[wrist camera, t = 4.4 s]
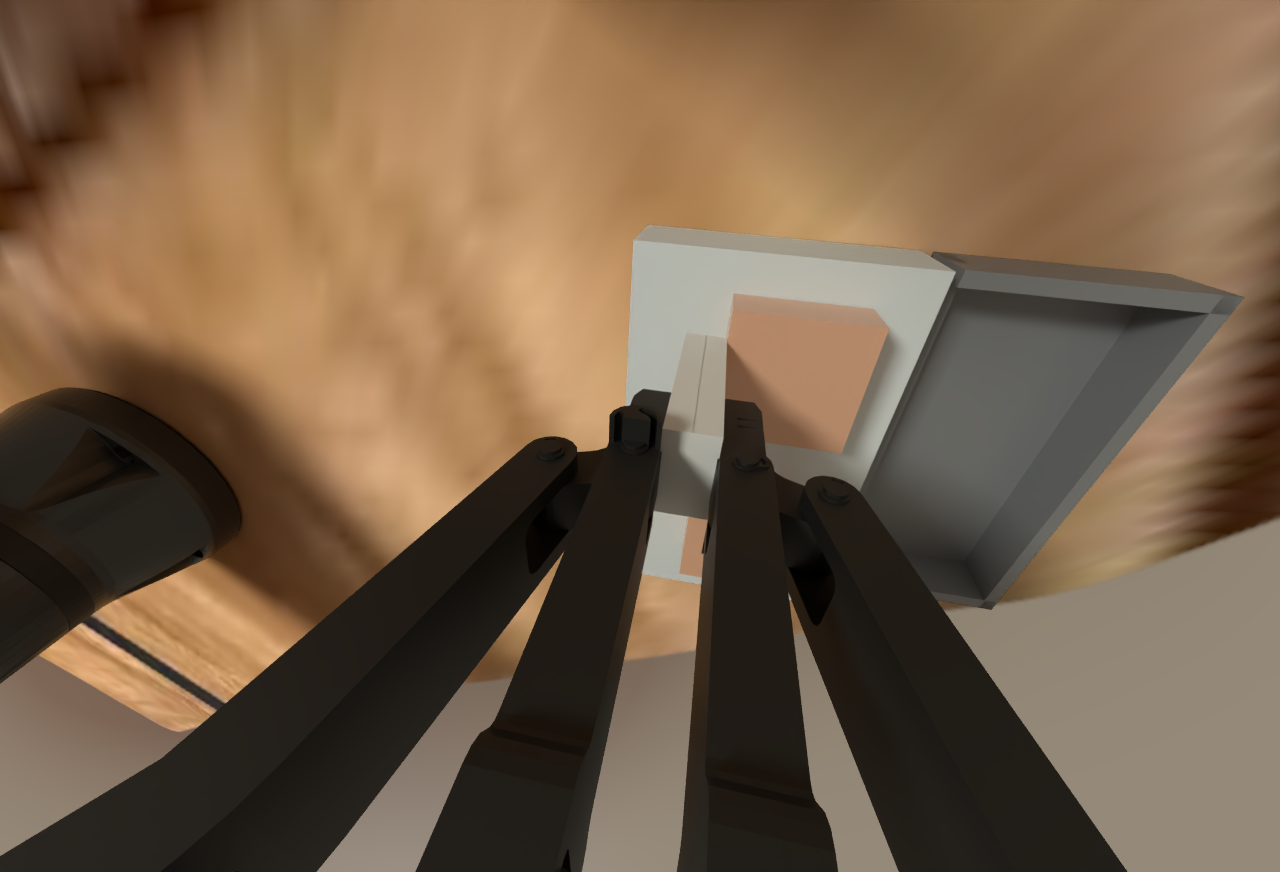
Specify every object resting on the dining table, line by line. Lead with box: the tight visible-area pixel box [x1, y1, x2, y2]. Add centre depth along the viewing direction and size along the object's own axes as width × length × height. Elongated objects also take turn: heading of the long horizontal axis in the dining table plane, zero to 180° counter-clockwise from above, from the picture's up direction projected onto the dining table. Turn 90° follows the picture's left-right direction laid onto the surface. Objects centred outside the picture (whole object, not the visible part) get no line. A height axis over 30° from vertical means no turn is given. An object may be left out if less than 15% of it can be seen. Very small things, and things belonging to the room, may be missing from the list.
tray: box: [860, 252, 1245, 610], centre depth 21 cm, size 8×16×3 cm, turn 177°
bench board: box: [626, 225, 956, 601], centre depth 22 cm, size 11×18×4 cm, turn 177°
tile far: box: [679, 517, 708, 578], centre depth 22 cm, size 5×5×2 cm
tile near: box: [725, 293, 889, 454], centre depth 17 cm, size 5×5×2 cm
